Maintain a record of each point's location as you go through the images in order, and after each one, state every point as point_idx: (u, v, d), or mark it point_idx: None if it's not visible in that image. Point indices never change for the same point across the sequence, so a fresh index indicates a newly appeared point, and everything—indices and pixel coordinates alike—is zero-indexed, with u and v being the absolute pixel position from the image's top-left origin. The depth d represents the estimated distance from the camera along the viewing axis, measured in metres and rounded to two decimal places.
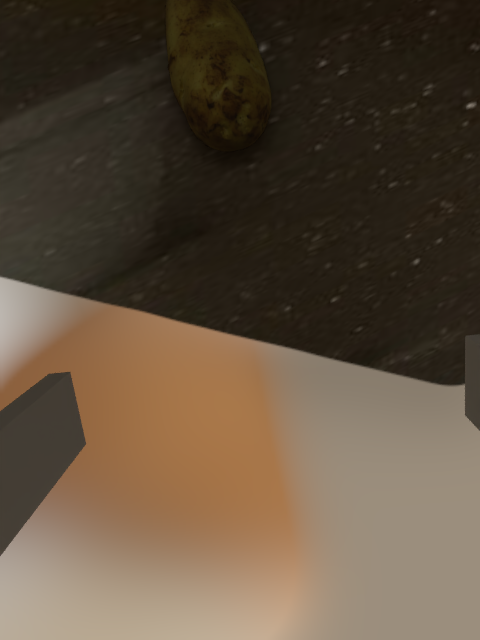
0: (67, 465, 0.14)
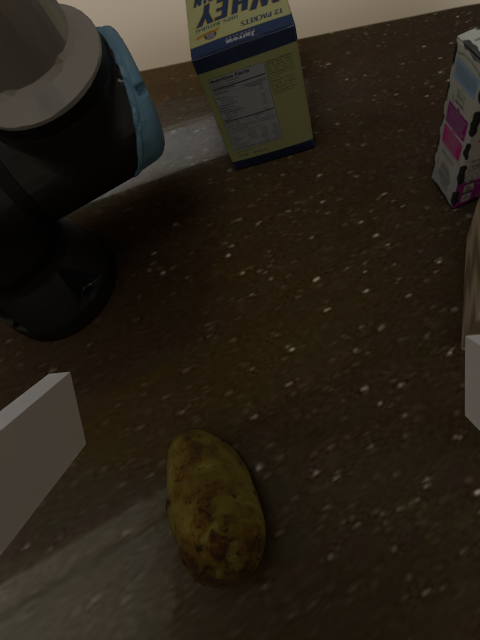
0: (67, 465, 0.14)
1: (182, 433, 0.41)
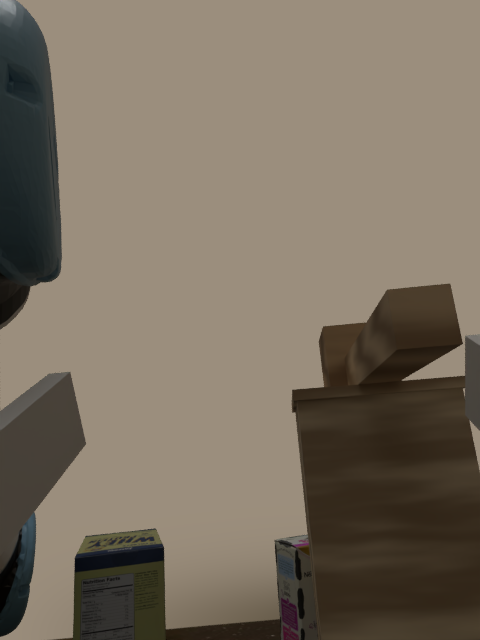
0: (67, 465, 0.14)
1: None
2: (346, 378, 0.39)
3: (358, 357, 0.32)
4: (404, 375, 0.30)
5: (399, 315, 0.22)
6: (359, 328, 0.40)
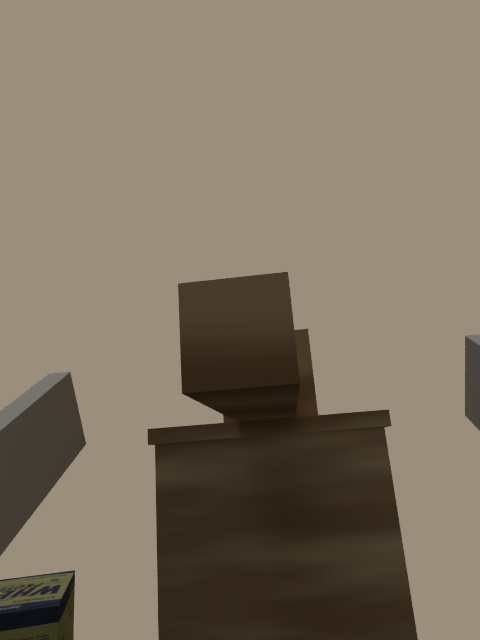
0: (67, 465, 0.14)
1: None
2: None
3: None
4: (288, 413, 0.21)
5: (193, 330, 0.12)
6: None
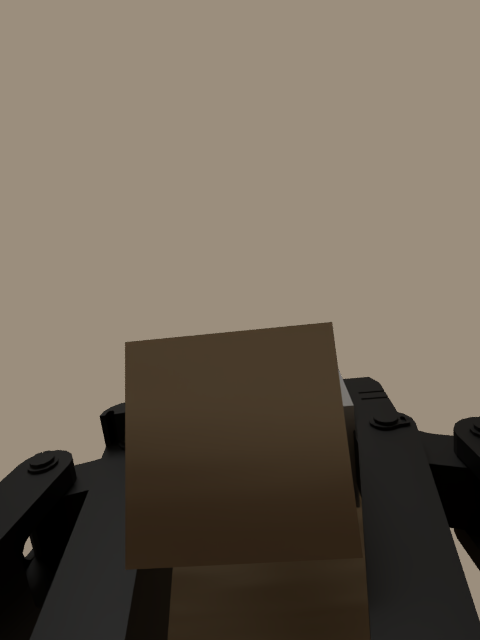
0: None
1: None
2: None
3: None
4: None
5: (151, 435, 0.06)
6: None
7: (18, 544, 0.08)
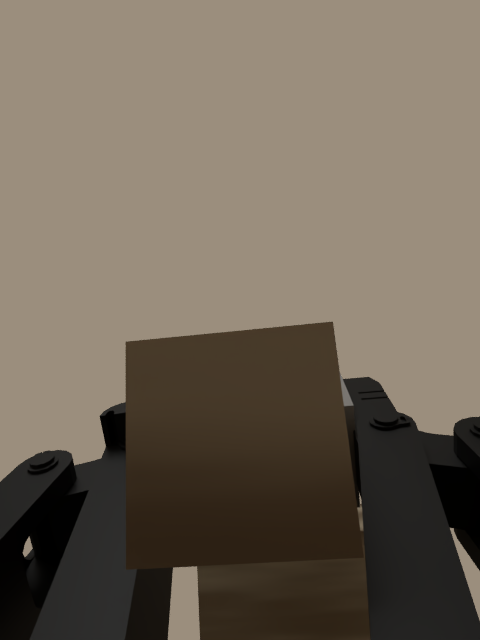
0: None
1: None
2: None
3: None
4: None
5: (152, 435, 0.06)
6: None
7: (18, 544, 0.08)
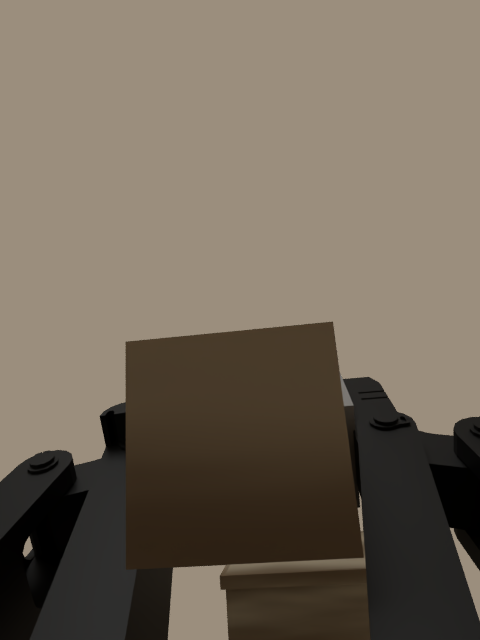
0: None
1: None
2: None
3: None
4: None
5: (152, 435, 0.06)
6: None
7: (18, 544, 0.08)
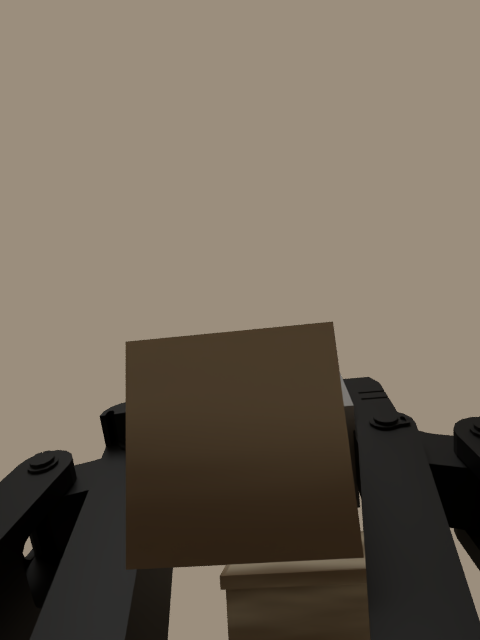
0: None
1: None
2: None
3: None
4: None
5: (152, 435, 0.06)
6: None
7: (18, 544, 0.08)
